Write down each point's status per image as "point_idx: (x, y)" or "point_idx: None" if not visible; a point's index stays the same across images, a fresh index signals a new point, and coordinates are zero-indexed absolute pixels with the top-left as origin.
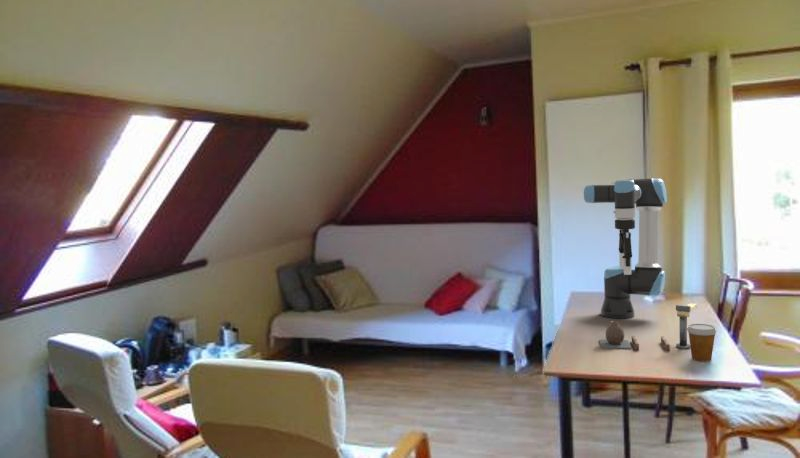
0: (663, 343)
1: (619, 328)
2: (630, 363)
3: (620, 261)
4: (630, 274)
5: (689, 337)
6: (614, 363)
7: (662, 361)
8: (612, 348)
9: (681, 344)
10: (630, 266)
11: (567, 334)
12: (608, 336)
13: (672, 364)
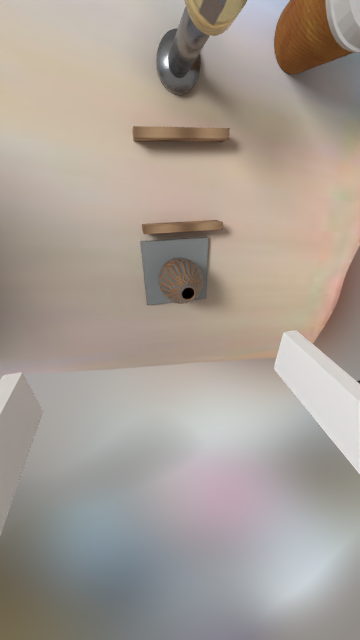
0: (175, 139)
1: (197, 276)
2: (299, 246)
3: (16, 476)
4: (295, 335)
5: (339, 55)
6: (294, 274)
7: (298, 174)
8: (205, 277)
9: (189, 71)
10: (342, 376)
11: (107, 361)
12: (193, 293)
13: (321, 152)
